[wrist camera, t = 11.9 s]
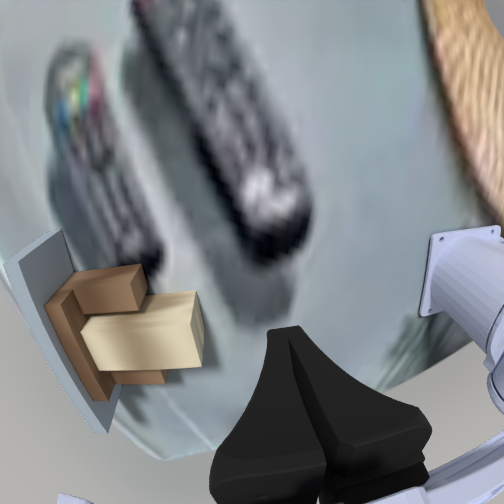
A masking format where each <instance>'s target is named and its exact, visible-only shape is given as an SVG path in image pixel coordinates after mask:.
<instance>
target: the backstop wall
mask: <svg viewBox="0 0 504 504" xmlns="http://www.w3.org/2000/svg"><path fill="white" fill-rule="evenodd" d="M3 266H4V269H5V271H6V274H7V277H8V280H9V282H10V285H11V287H12V290H13V292H14V295H15V297H16V300H17V302H18V304H19V307H20V309H21V311H22V313H23V316H24V318H25V320H26V322H27V324H28V326H29V328H30V330H31V332H32V334H33V336H34V338H35V340H36V342H37V344H38V346H39V348H40V350H41V352H42V354H43V356H44V357H45V359H46V361H47V363H48V364H49V366H50V368H51V370H52V371H53V373H54V375H55V376H56V378H57V380H58V381H59V383H60V385H61V386H62V388H63V389H64V391H65V392H66V394H67V395H68V397H69V398H70V400H71V402H72V403H73V404H74V406H75V407H76V409H77V410H78V412H79V413H80V414H81V416H82V417H83V419H84V420H85V421H86V423H87V424H88V426H89V427H90V428H91V430H92V431H93V432H95V433H105V434H108V432H109V429H110V425H111V422H112V419H113V415H114V412H115V409H116V405H117V402H118V399H119V396H120V392H121V389H122V385H121V384H115V386H114V388H113V391H112V394H111V397H110V400H109V402H103V401H93V400H92V398H91V397H90V395H89V393H88V392H87V390H86V388H85V387H84V385H83V383H82V382H81V380H80V378H79V377H78V375H77V373H76V371H75V369H74V368H73V366H72V364H71V362H70V360H69V358H68V356H67V355H66V353H65V351H64V349H63V347H62V345H61V343H60V341H59V339H58V337H57V335H56V332H55V330H54V328H53V326H52V324H51V322H50V319H49V317H48V315H47V313H46V310H45V308H44V305H45V303H46V302H47V301H48V300H49V299H50V298H51V297H52V295H53V294H54V293H55V292H56V291H57V290H58V289H59V287H60V286H61V285H62V284H63V283H64V282H65V281H66V280H67V279H68V278H69V276H70V275H71V274H72V273H73V272H74V270H73V267H72V264H71V261H70V258H69V255H68V251H67V248H66V244H65V241H64V237H63V234H62V230H61V229H60V230H56V231H51V232H47V233H45V234H44V235H42V236H41V237H39V238H38V239H37V240H35V241H34V242H32V243H31V244H29V245H28V246H27V247H25V248H24V249H23V250H21V251H20V252H19V253H17V254H16V255H15V256H13V257H12V258H11V259H9V260H8V261H7V262H5V263H4V264H3Z"/></svg>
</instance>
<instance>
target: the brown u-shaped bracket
mask: <svg viewBox="0 0 504 504" xmlns="http://www.w3.org/2000/svg"><path fill="white" fill-rule="evenodd" d="M147 289H148V286H147V283H146V279H145V275H144V272H143V268H142V264H136V265H128V266H120V267H112V268H104V269H96V270H89V271H81V272H73V273H72V274H71V275H70V276H69V278H68V279H67V280H66V281H65V282H64V283H63V284H62V285H61V286H60V287H59V289H58V290H57V291H56V292H55V293H54V294H53V295H52V297H51V298H50V299H49V300H48V301H47V302H46V303H45V305H44V308H45V310H46V313H47V315H48V317H49V319H50V322H51V324H52V326H53V328H54V330H55V332H56V335H57V337H58V339H59V341H60V343H61V345H62V347H63V349H64V351H65V353H66V355H67V356H68V358H69V360H70V362H71V364H72V366H73V368H74V369H75V371H76V373H77V375H78V377H79V378H80V380H81V382H82V383H83V385H84V387H85V388H86V390H87V392H88V393H89V395H90V397H91V398H92V400H93V401H103V402H109V400H110V397H111V394H112V391H113V388H114V386H115V384H128V385H131V384H166V379H167V374H168V369H158V370H119V371H103V370H98V368H97V366H96V364H95V362H94V360H93V358H92V356H91V354H90V352H89V350H88V348H87V346H86V344H85V342H84V340H83V337H82V335H81V333H80V331H81V330H82V328H83V327H84V325H85V323H86V322H87V320H88V318H89V317H90V315H91V314H95V313H109V312H122V311H134V310H139V308H140V305H141V303H142V301H143V298H144V296H145V294H146V292H147Z"/></svg>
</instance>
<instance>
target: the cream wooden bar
mask: <svg viewBox="0 0 504 504" xmlns="http://www.w3.org/2000/svg"><path fill="white" fill-rule="evenodd" d="M204 332H205V328H204V324H203V320H202V315H201V311H200V307H199V302H198V298H197V293H196V290H194V291H185V292H176V293H167V294H157V295H148V296H144V298H143V301H142V303H141V305H140V308H139V310H134V311H122V312H109V313H95V314H91V315H90V317H89V318H88V320H87V322H86V323H85V325H84V327H83V328H82V330H81V331H80V333H81V335H82V337H83V340H84V342H85V344H86V346H87V348H88V350H89V352H90V354H91V356H92V358H93V360H94V362H95V364H96V366H97V368H98V370H103V371H119V370H158V369H177V368H192V367H202V357H203V344H204Z"/></svg>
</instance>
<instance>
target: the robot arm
mask: <svg viewBox="0 0 504 504" xmlns="http://www.w3.org/2000/svg"><path fill="white" fill-rule="evenodd" d="M500 233H501V228H500V226H498V225H494V226H487V227H479V228H472V229H465V230H457V231H450V232H442V233H435V234H433V235H432V237H431V240H430V249H429V257H428V264H427V271H426V278H425V284H424V290H423V295H422V301H421V306H420V311H419V313H420V315H421V316H422V317H424V316H428V315H431V314H435V313H438V312H442V311H445V312H446V313H447V314H448V315H449V316H450V317H451V318H452V319H453V320H454V321H455V322H456V323H457V324H458V325H459V326H460V327H461V328H462V329H463V330H464V331H465V332H466V333H467V334H468V335H469V336H470V337H471V338H472V339H473V341H474V342H475V343H476V344H477V345H478V346H479V347H480V348H481V349H482V350H483V351H484V352H485V354H486V355H487V356H486V358H485V360H484V362H483V364H484V365H485V366H486V368H487V369H488V370H489V371H490V373H489V375H488V378H487V388H488V391H489V394H490V397H491V399H492V401H493V403H494V404H495V406H496V407H497V409H498V410H499V411H500V412H501V413H502V414H504V238H502V237H500ZM440 238H441V240H440ZM439 240H440V241H439ZM431 434H432V427H431V425H430V424H429V422H428V420H427V419H426V417H425V415H424V414H423V413H422V412H421V410H420V409H419V408H418V407H415V406H412V405H409V404H406V403H403V402H400V401H397V400H394V399H392V398H390V397H387V396H385V395H383V394H381V393H379V392H377V391H375V390H373V389H371V388H369V387H368V386H366V385H364V384H362V383H361V382H359V381H358V380H356V379H355V378H353V377H352V376H350V375H349V374H348V373H346V372H345V371H344V370H342V369H341V368H340V367H339V366H338V365H336V364H335V363H334V362H333V361H332V360H331V359H330V358H329V357H327V356H326V355H325V354H324V353H323V352H322V351H321V350H320V349H319V348H318V347H317V346H316V344H315V343H314V342H313V341H312V340H311V339H310V338H309V337H308V335H307V334H306V333H305V332H304V330H303V329H302V328H301V327H300V326H299V325H298V326H292V327H285V328H278V329H271V330H269V331H268V332H267V349H266V355H265V360H264V364H263V368H262V371H261V374H260V378H259V381H258V383H257V386H256V388H255V391H254V393H253V395H252V397H251V400H250V401H249V403H248V405H247V407H246V409H245V411H244V413H243V414H242V416H241V418H240V419H239V421H238V422H237V424H236V425H235V427H234V428H233V430H232V431H231V433H230V434H229V435H228V436H227V438H226V439H225V440H224V441H223V442H222V444H221V445H220V446H219V447H218V449H217V451H216V453H215V456H214V459H213V463H212V466H211V470H210V476H209V483H210V484H209V490H210V494H211V495H212V497H213V498H214V500H215V501H216V503H217V504H316V503H317V499H318V497H319V503H320V504H485V503H486V502H488V501H489V500H491V499H492V498H493V497H495V496H496V495H498V494H499V493H500V492H502V491H503V490H504V430H503V431H502V432H500V433H499V434H497V435H495V436H494V437H492V438H491V439H489V440H488V441H486V442H484V443H483V444H481V445H479V446H478V447H476V448H474V449H472V450H471V451H469V452H467V453H465V454H464V455H462V456H460V457H458V458H456V459H454V460H452V461H450V462H449V463H446V464H444V465H442V466H440V467H438V468H436V469H434V470H431V471H429V472H427V470H426V468H425V466H424V463H423V462H424V460H425V457H424V455H423V453H422V450H423V448H424V447H425V445H426V443H427V442H428V440H429V438H430V436H431ZM57 504H94V503H92V502H90V501H88V500H86V499H83V498H79V497H75V496H71V495H67V494H63V493H59V496H58V500H57Z"/></svg>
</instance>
